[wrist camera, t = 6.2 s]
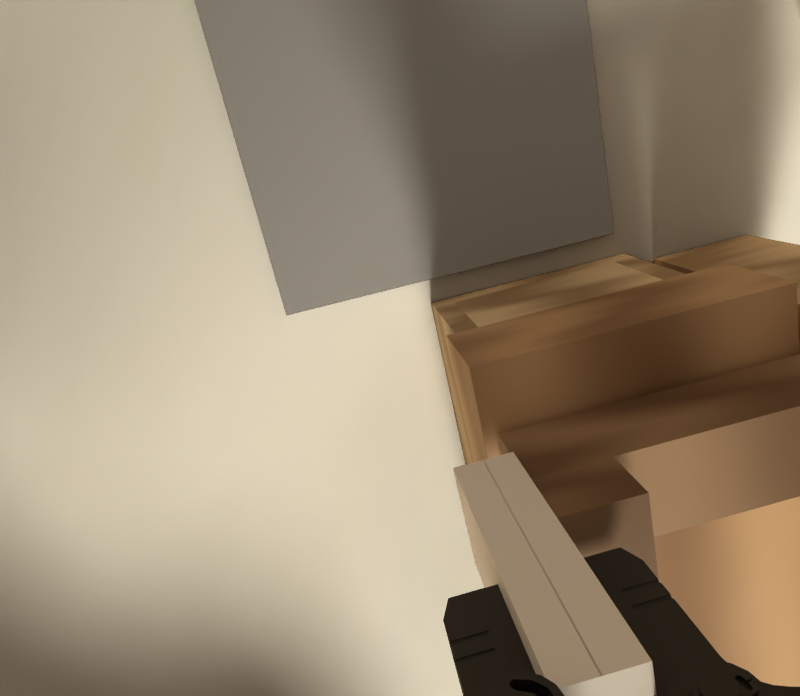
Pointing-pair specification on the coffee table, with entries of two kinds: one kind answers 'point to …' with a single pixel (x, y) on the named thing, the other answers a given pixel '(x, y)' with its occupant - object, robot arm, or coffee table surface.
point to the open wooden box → (598, 290)
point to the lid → (645, 374)
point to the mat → (410, 135)
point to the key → (668, 458)
